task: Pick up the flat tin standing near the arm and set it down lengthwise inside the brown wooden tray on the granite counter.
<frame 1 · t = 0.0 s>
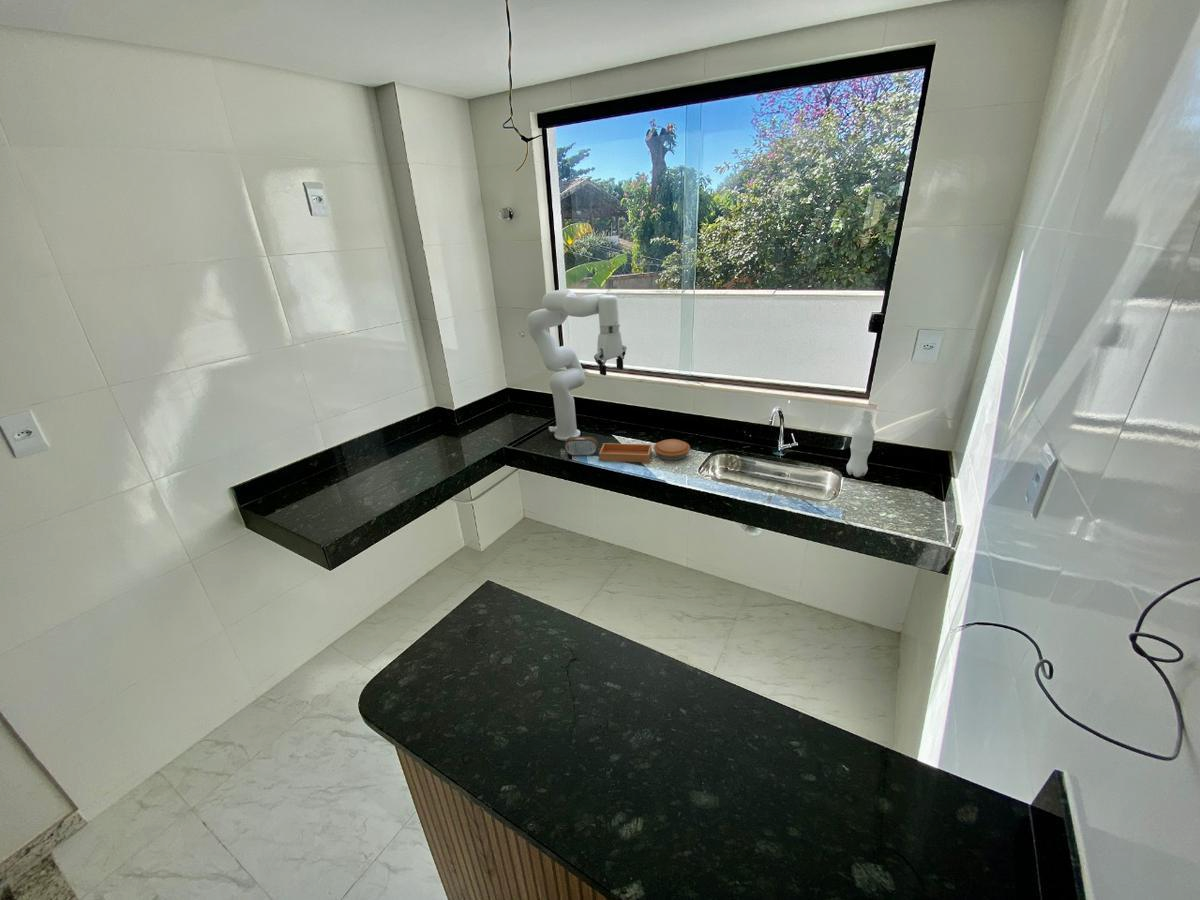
hand: (611, 371, 195), 37 cm above the counter, tool pointing down, fingers open, 9 cm apart
tin: (582, 455, 213), on the counter
water bottle: (855, 474, 184), on the counter
pie: (671, 455, 208), on the counter
brown wooden tray: (625, 456, 209), on the counter
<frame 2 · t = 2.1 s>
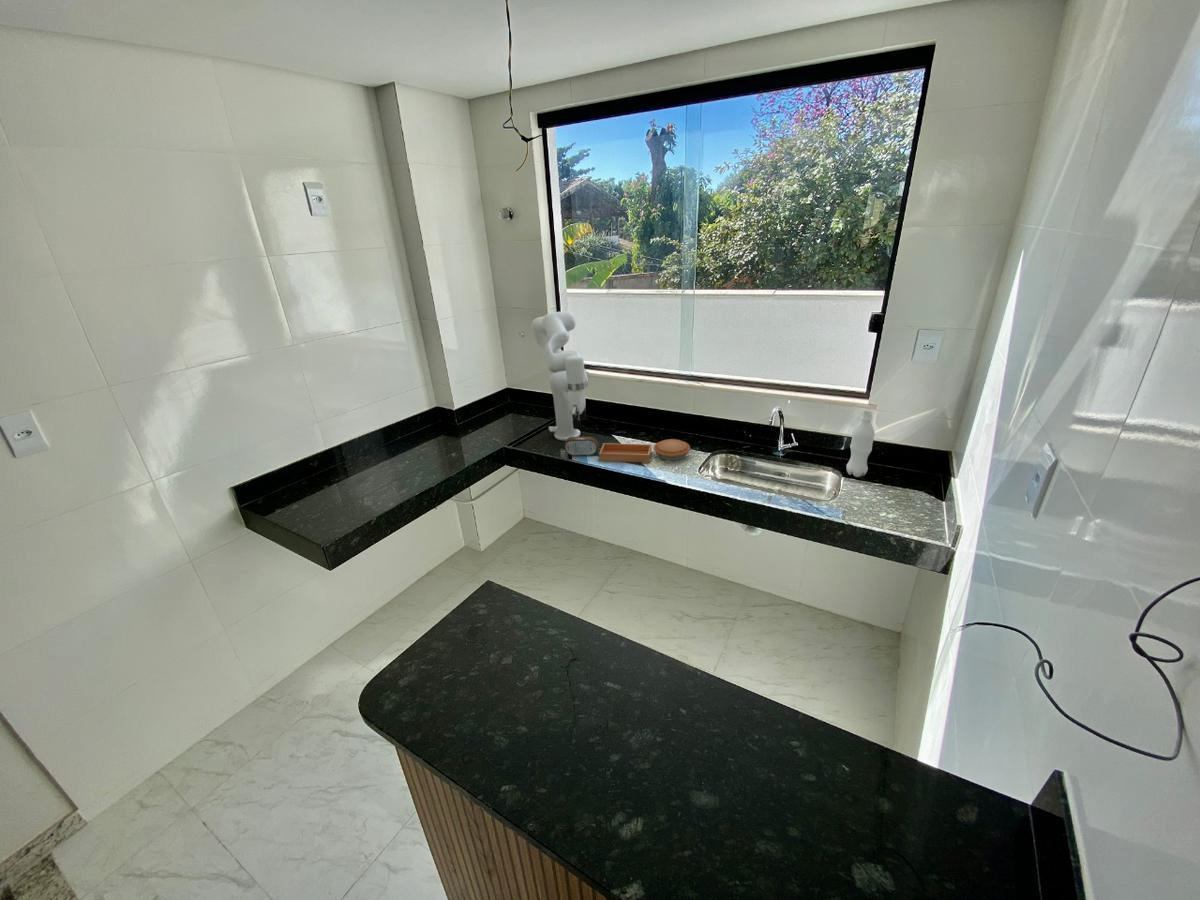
hand: (580, 424, 206), 15 cm above the counter, tool pointing down, fingers open, 9 cm apart
nothing on the counter moved.
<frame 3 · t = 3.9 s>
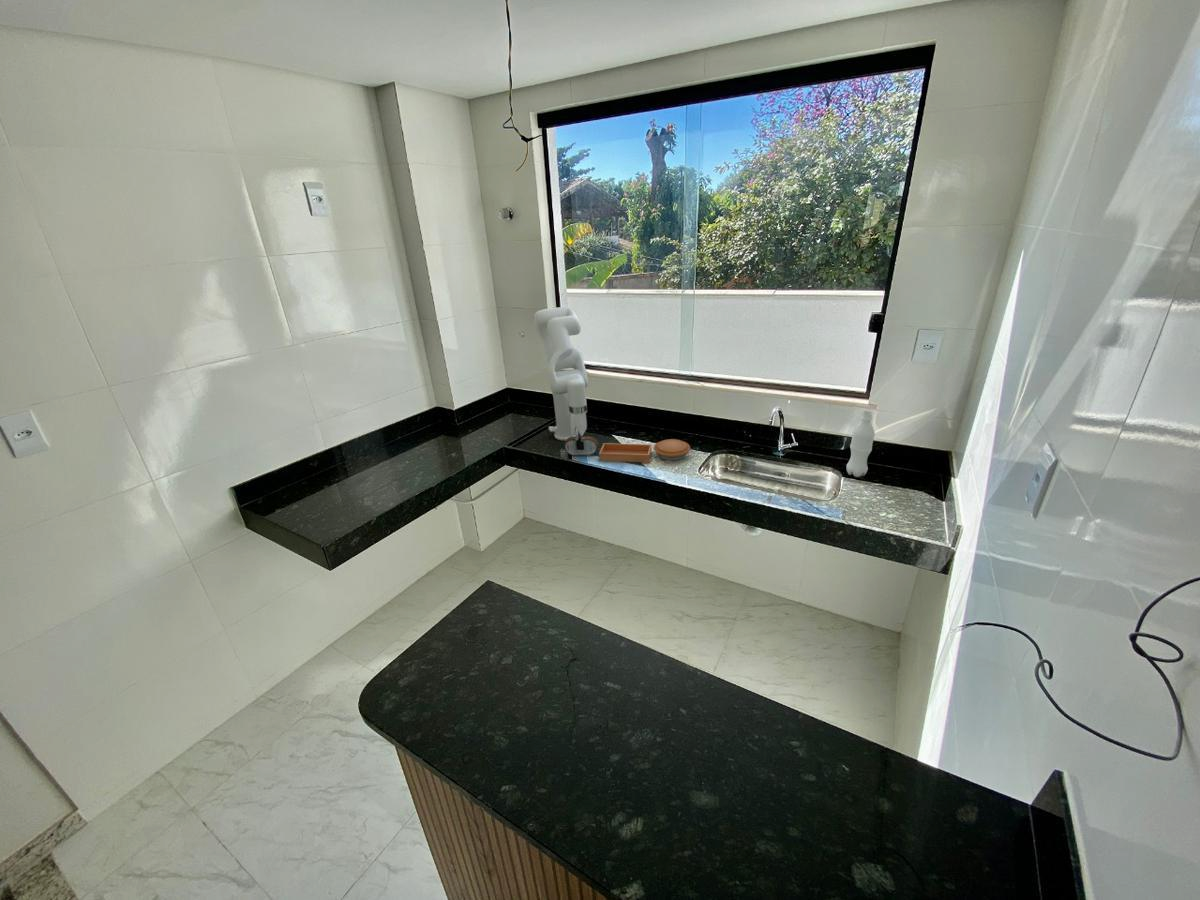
hand: (581, 447, 211), 4 cm above the counter, tool pointing down, fingers closed on tin, 3 cm apart
tin: (582, 455, 213), on the counter, touching gripper
everything else where it was.
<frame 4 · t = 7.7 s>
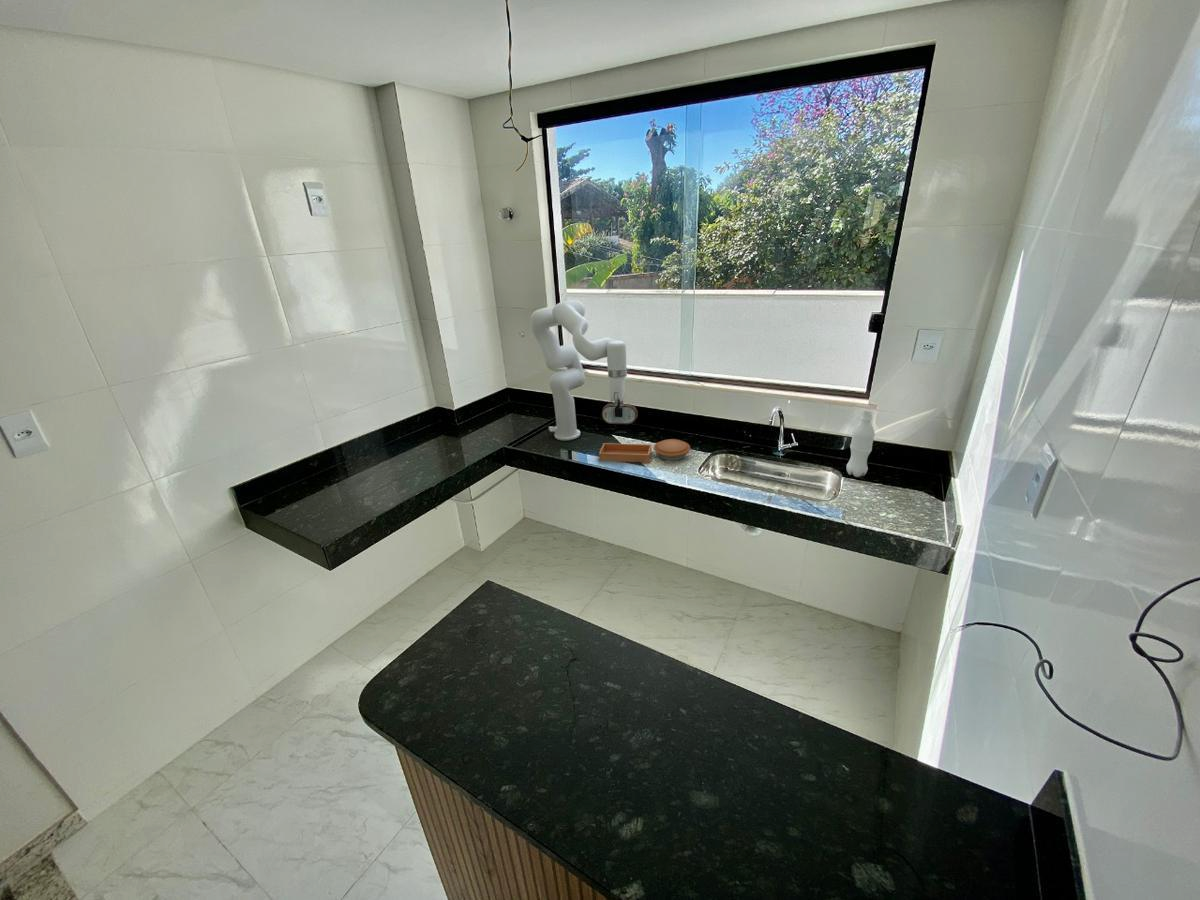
hand: (619, 414, 201), 19 cm above the counter, tool pointing down, fingers closed on tin, 2 cm apart
tin: (619, 424, 202), point 15 cm above the counter, touching gripper
everything else where it was.
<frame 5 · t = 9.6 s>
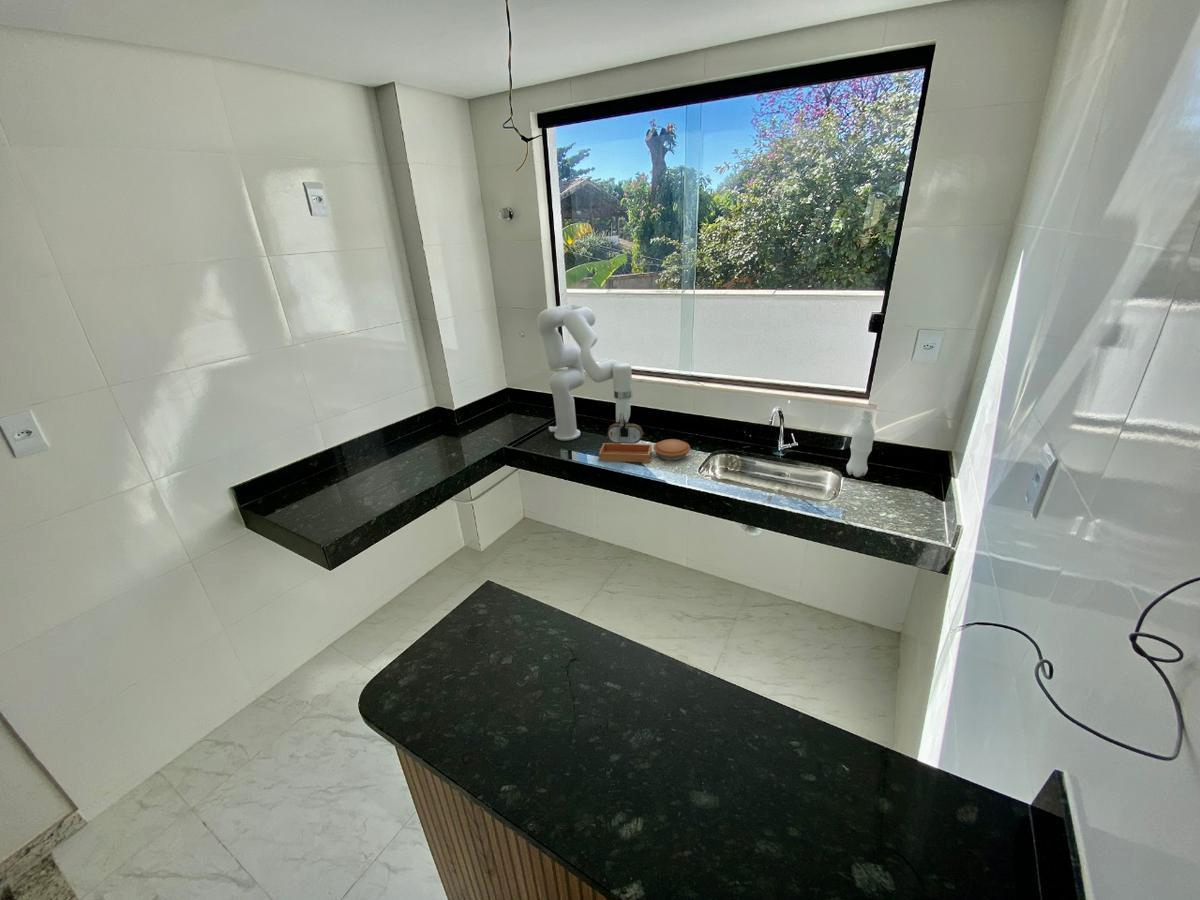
hand: (624, 434, 204), 10 cm above the counter, tool pointing down, fingers closed on tin, 2 cm apart
tin: (625, 443, 206), point 6 cm above the counter, touching gripper
everything else where it was.
when the fingers open (4 cm above the counter, at t = 11.3 s): tin stays where it is, resting on brown wooden tray.
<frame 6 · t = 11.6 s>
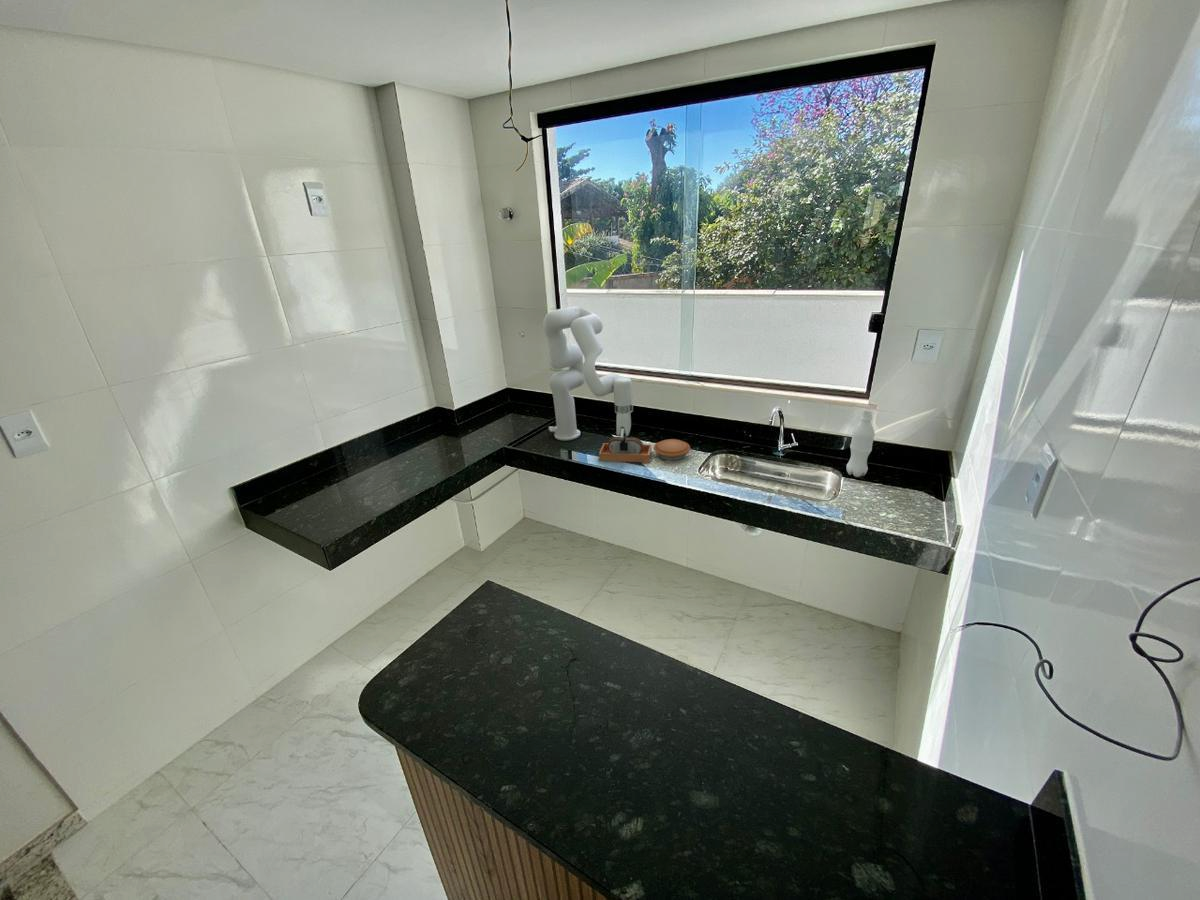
hand: (625, 446, 207), 5 cm above the counter, tool pointing down, fingers open, 6 cm apart
tin: (625, 456, 208), resting on brown wooden tray
everything else where it was.
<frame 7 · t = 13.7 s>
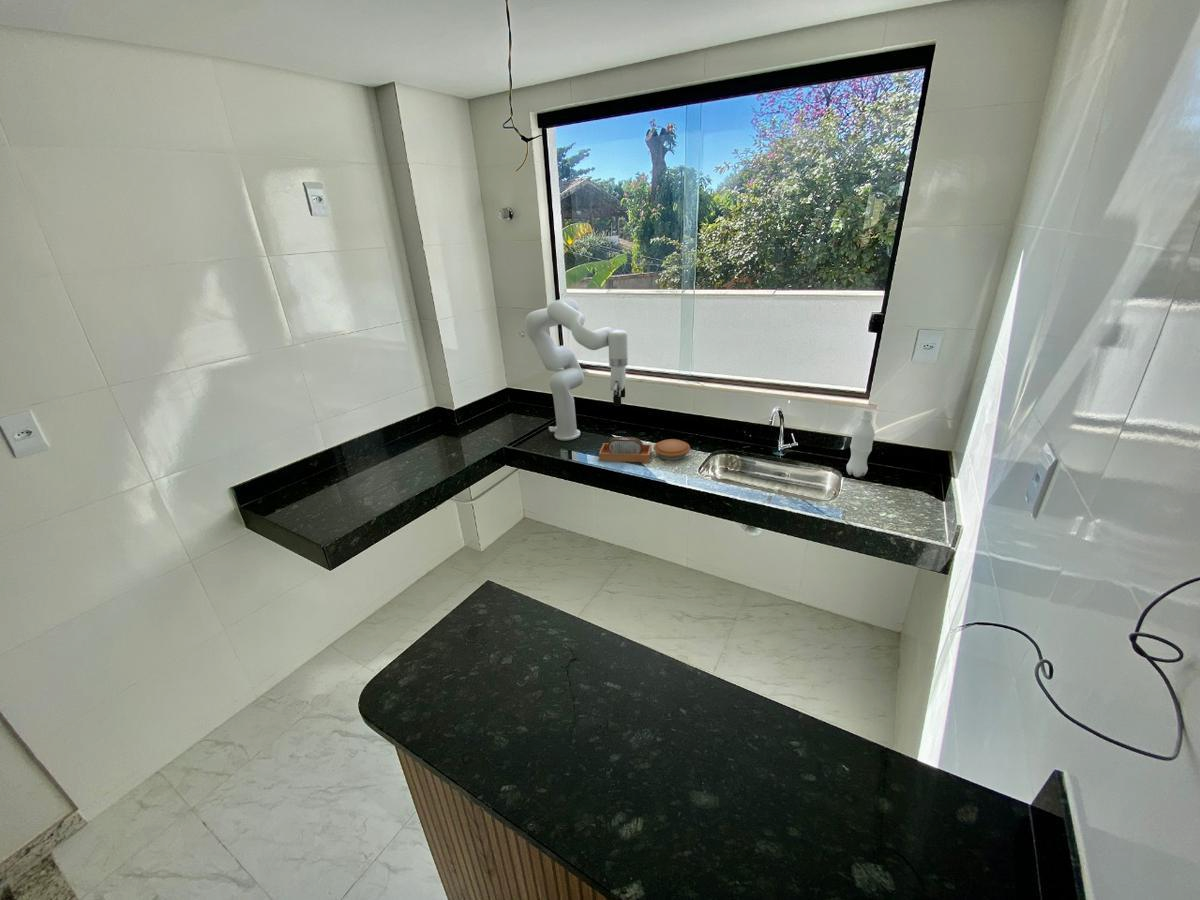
hand: (619, 401, 203), 24 cm above the counter, tool pointing down, fingers open, 9 cm apart
nothing on the counter moved.
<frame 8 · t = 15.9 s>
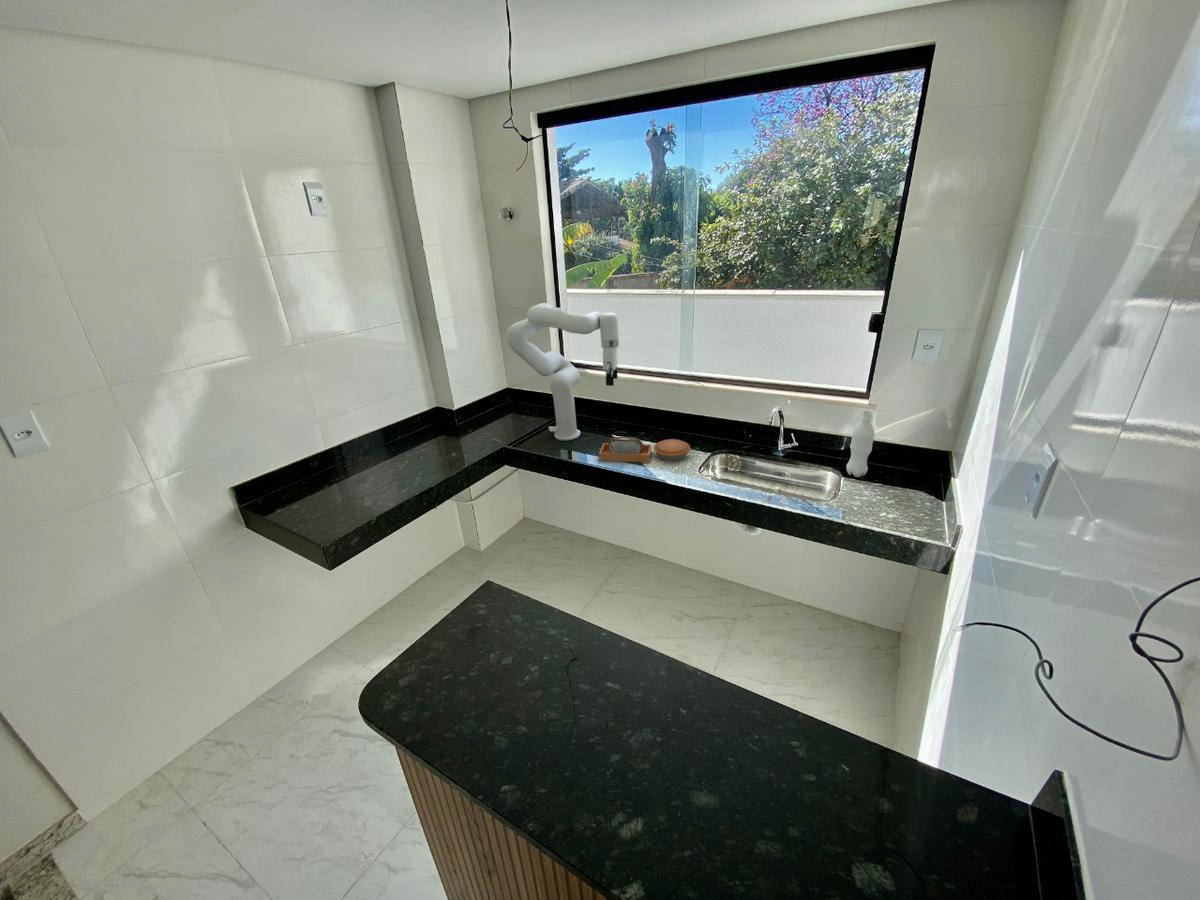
hand: (611, 381, 212), 28 cm above the counter, tool pointing down, fingers open, 9 cm apart
nothing on the counter moved.
at the end: tin inside the target area in the brown wooden tray (0.4 cm from its centre), point 0.4 cm above the brown wooden tray's base; the gripper is holding nothing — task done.
